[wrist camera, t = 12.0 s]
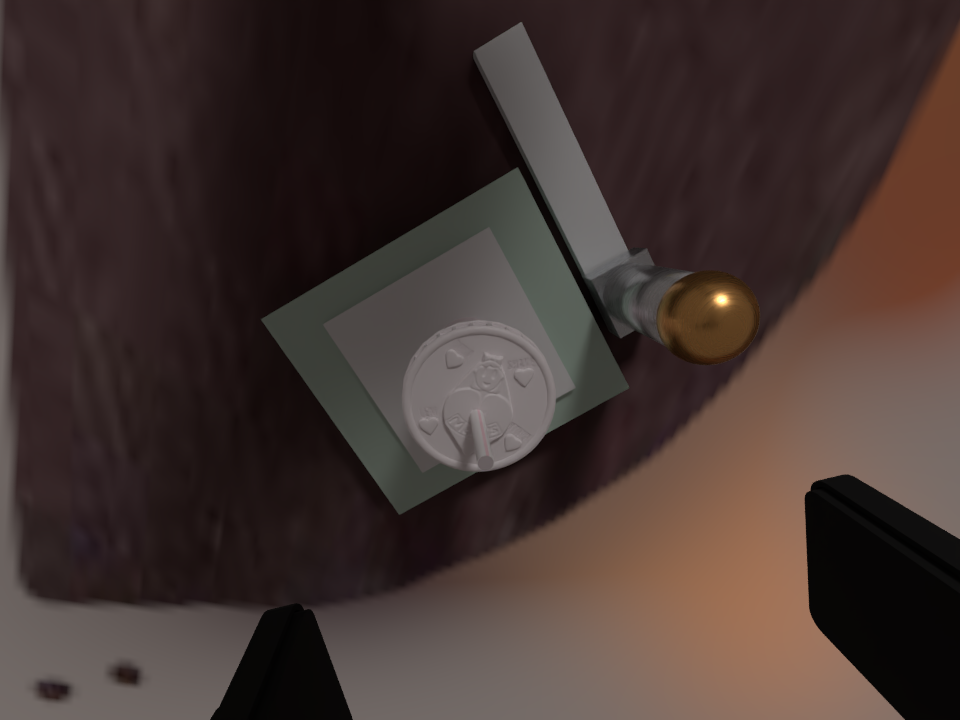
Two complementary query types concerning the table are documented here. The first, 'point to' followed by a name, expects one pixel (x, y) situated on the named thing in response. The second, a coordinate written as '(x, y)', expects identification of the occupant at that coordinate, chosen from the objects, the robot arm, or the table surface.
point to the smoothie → (478, 395)
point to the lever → (676, 307)
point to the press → (465, 287)
